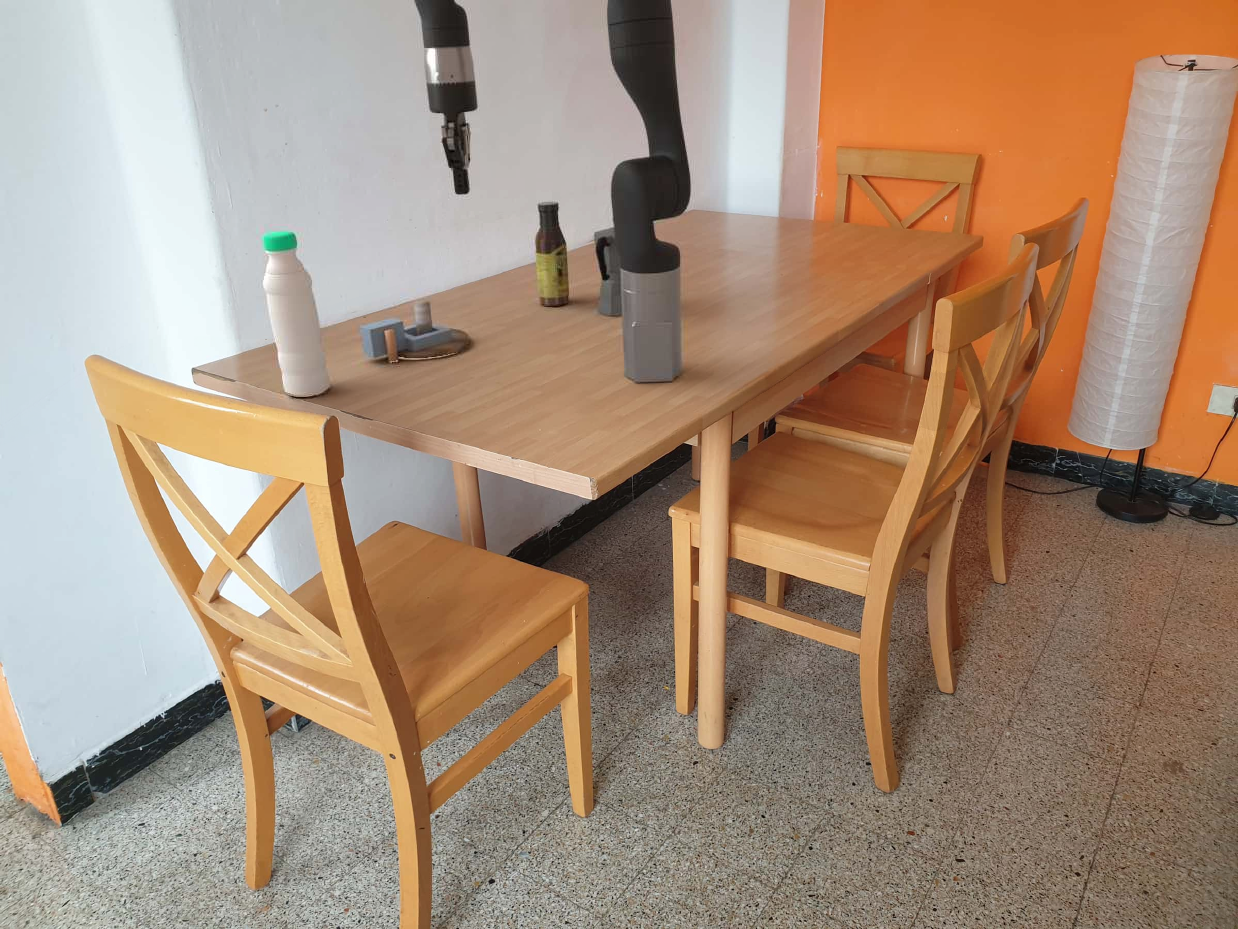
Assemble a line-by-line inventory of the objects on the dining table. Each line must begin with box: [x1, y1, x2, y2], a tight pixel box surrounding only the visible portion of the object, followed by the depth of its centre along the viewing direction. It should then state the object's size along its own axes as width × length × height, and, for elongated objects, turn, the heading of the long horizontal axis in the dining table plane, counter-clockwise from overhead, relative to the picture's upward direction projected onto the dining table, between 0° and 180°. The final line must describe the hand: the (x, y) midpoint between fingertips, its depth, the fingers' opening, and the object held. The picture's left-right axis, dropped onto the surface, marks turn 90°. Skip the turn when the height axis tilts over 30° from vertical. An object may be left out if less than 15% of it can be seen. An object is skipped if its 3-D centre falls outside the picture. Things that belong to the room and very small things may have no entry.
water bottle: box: [262, 230, 331, 395], centre depth 147 cm, size 7×7×25 cm
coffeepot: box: [593, 222, 622, 318], centre depth 182 cm, size 15×9×18 cm, turn 156°
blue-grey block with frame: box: [359, 317, 452, 359], centre depth 167 cm, size 14×8×5 cm, turn 134°
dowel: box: [384, 329, 399, 362], centre depth 163 cm, size 2×2×6 cm
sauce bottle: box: [534, 201, 570, 307], centre depth 190 cm, size 7×6×20 cm
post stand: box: [397, 300, 470, 358], centre depth 169 cm, size 15×15×8 cm
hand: (462, 193), depth 156 cm, fingers closed
